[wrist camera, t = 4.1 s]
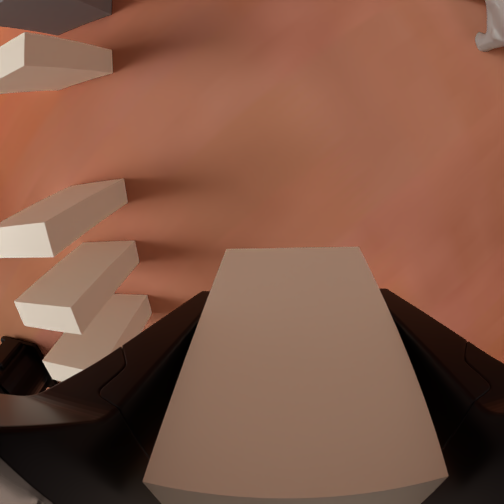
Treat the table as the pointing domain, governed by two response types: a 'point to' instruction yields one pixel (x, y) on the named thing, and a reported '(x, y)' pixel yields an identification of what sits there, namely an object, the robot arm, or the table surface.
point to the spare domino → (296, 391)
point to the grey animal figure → (492, 27)
